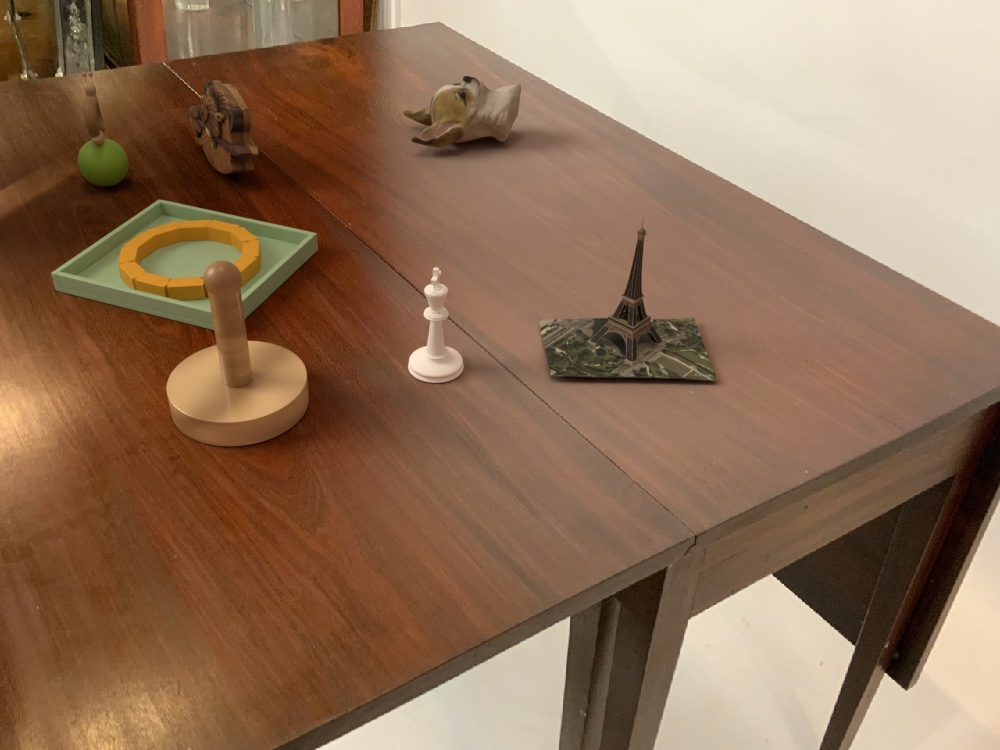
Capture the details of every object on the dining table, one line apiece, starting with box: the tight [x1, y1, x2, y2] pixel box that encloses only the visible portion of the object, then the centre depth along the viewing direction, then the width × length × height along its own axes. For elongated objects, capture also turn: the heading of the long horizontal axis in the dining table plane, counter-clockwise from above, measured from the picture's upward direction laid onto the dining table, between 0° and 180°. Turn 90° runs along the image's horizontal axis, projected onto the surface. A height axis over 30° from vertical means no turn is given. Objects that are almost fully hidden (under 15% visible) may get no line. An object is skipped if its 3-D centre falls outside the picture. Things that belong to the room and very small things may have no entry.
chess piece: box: [407, 266, 465, 384], centre depth 83 cm, size 5×5×10 cm
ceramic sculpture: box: [402, 75, 522, 148], centre depth 125 cm, size 11×9×15 cm
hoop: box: [118, 220, 261, 301], centre depth 97 cm, size 13×13×2 cm
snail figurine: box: [77, 71, 130, 188], centre depth 109 cm, size 5×6×12 cm
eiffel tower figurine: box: [538, 217, 718, 382], centre depth 86 cm, size 15×10×13 cm
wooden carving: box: [188, 79, 259, 175], centre depth 114 cm, size 16×5×10 cm, turn 38°
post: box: [166, 260, 310, 447], centre depth 77 cm, size 11×11×13 cm
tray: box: [50, 199, 319, 331], centre depth 97 cm, size 19×17×2 cm
